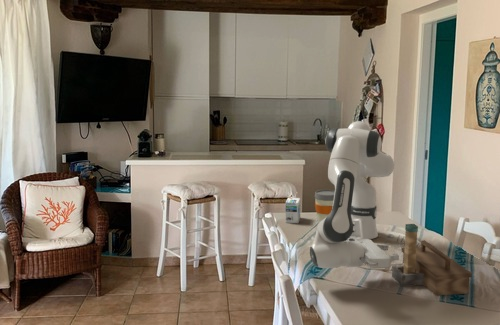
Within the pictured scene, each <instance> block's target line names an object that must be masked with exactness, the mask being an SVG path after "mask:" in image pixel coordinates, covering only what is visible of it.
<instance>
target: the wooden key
mask: <svg viewBox="0 0 500 325" xmlns="http://www.w3.org/2000/svg"><path fill="white" fill-rule="evenodd" d="M404 230H405V234H404V235H405V237H404V239H405V240H404V248H405V252H404V272H403V274H412V273H415V265H416V247H418V244H417V243H418V232H419V226H418V225H417V224H415V223H405V229H404Z"/></svg>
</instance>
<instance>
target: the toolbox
mask: <svg viewBox="0 0 500 325" xmlns="http://www.w3.org/2000/svg"><path fill="white" fill-rule="evenodd" d="M401 252H402V254H403V255H402V264H403V263H404V252H405V247H401ZM391 270H392V271H391V277H392V278H393V279H394V280H395V281H396V282H397V283H398V284H399V285H400V286H401V287H407V286H408V287H409V286H421V285H422V286H424V287H425V288H426V289H428V290H429V292H431V293H432V294H433V295H434V296H447V295H448V296H449V295H463V294H469V291H470V278H473V273H472V272H471V271H470V270H468V269H467V268H466V267H464V266H463V265H461V264H460V263H458V262H457V261H456V260H454V259H452V258H451V257H450V256H448V255H446V254H445V253H444V252H443V251H441V250H440V249H438V248H437V247H435V246H434V245H432V244H430V242H427V240H420V246H417V247H416V265H415V273H412V274H403V272H404V266H403V265H395V266H392V269H391Z"/></svg>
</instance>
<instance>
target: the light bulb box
mask: <svg viewBox="0 0 500 325" xmlns="http://www.w3.org/2000/svg"><path fill="white" fill-rule="evenodd" d="M300 220H301V197H290V196H289V197H287V199H286V201H285V223H286V224H287V223H288V224H289V223H290V224H299V222H300Z"/></svg>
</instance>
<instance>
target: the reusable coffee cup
mask: <svg viewBox="0 0 500 325" xmlns="http://www.w3.org/2000/svg"><path fill="white" fill-rule="evenodd" d="M334 194H335V189H334V190H333V189H317V190H316V191H315V192H314V199H315V202H314V207H315V212H316V218H317V222H318V223H320V222H321V221H322V220H323V219H325V218H326V217H327V216H328V215H329V214H330V212H331V210H332V207H333V200H334Z"/></svg>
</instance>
